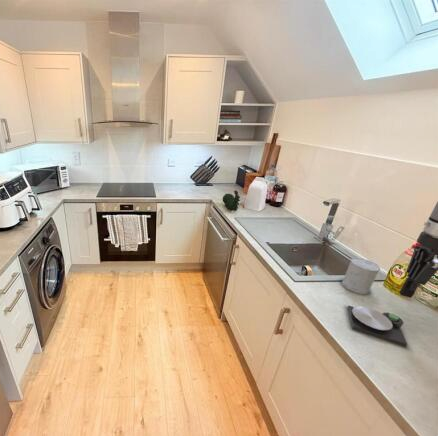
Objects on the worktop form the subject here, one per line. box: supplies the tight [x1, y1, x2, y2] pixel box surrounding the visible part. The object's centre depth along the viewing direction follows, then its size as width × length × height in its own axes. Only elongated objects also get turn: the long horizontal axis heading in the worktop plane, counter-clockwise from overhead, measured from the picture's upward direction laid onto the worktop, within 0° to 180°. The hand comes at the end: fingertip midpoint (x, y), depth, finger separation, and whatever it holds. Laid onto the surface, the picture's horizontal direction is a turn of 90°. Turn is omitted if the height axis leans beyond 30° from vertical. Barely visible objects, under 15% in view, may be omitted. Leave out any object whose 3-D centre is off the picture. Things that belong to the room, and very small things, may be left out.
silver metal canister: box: [341, 257, 381, 295], centre depth 104 cm, size 10×10×12 cm
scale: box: [347, 305, 408, 348], centre depth 86 cm, size 15×13×3 cm
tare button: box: [388, 313, 400, 322], centre depth 86 cm, size 3×3×1 cm
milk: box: [243, 176, 268, 212], centre depth 192 cm, size 12×12×26 cm
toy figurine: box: [222, 189, 241, 212], centre depth 193 cm, size 9×19×25 cm
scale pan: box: [352, 305, 393, 331], centre depth 86 cm, size 11×11×1 cm
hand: (405, 295), depth 82 cm, fingers closed
